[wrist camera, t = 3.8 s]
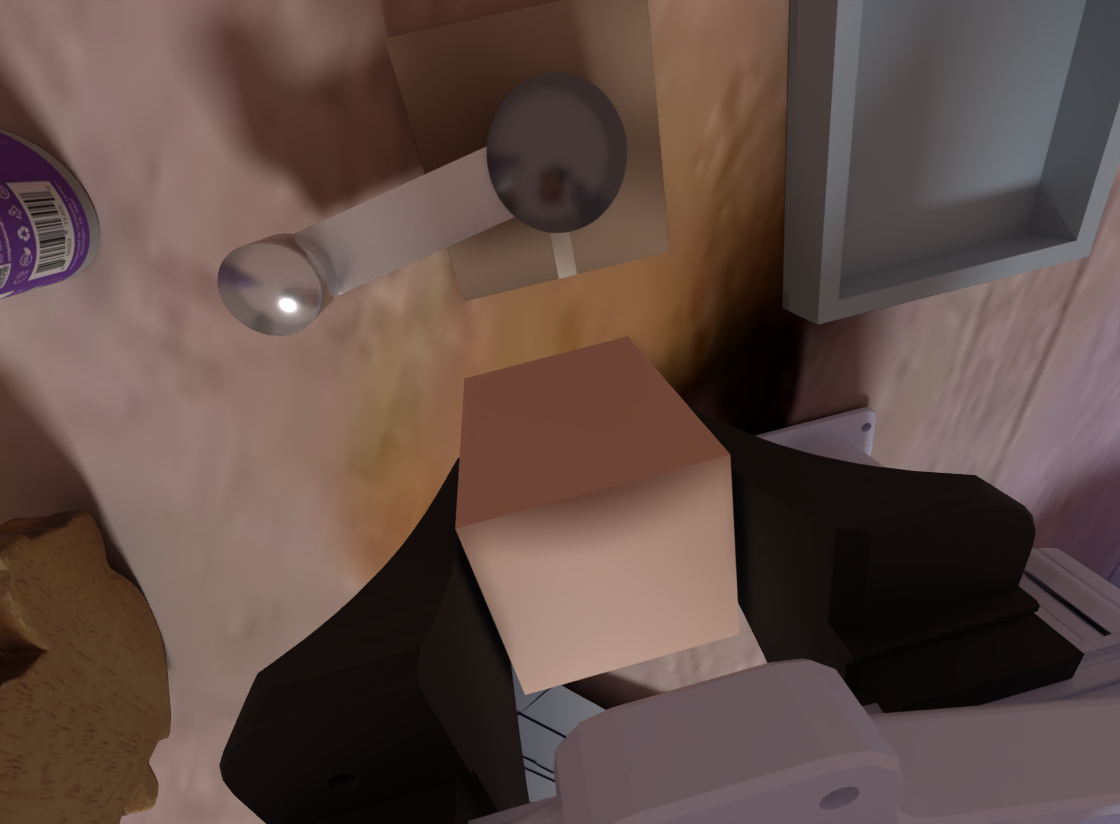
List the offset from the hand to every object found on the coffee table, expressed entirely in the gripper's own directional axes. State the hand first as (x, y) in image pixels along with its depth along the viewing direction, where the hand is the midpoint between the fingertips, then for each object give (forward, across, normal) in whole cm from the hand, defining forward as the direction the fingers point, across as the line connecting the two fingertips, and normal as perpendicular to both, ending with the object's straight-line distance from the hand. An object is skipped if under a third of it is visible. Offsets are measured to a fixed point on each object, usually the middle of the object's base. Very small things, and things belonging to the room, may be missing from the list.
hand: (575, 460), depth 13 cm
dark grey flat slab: (+9, +8, +35) cm, 37 cm away
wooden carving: (+9, +22, +8) cm, 25 cm away
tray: (+9, -17, -5) cm, 19 cm away
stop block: (+2, 0, 0) cm, 2 cm away
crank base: (+9, -2, -7) cm, 11 cm away
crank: (+7, +2, -6) cm, 10 cm away
